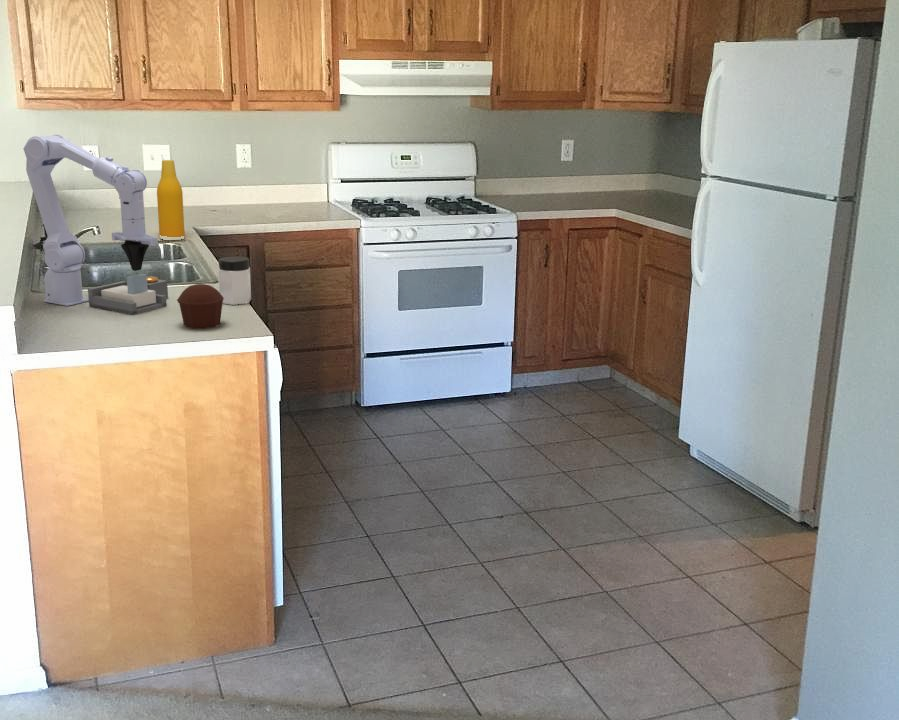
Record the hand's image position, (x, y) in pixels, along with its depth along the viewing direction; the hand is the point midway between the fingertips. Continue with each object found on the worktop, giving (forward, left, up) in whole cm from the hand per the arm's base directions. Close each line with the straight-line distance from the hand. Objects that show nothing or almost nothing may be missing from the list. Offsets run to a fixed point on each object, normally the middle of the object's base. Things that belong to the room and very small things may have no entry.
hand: (136, 270), depth 256 cm
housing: (-4, +3, -10) cm, 12 cm away
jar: (+15, +21, -11) cm, 28 cm away
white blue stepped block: (-3, 0, -9) cm, 10 cm away
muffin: (+25, -3, -11) cm, 27 cm away
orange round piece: (-6, +10, -9) cm, 14 cm away
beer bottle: (-73, +86, -11) cm, 113 cm away
